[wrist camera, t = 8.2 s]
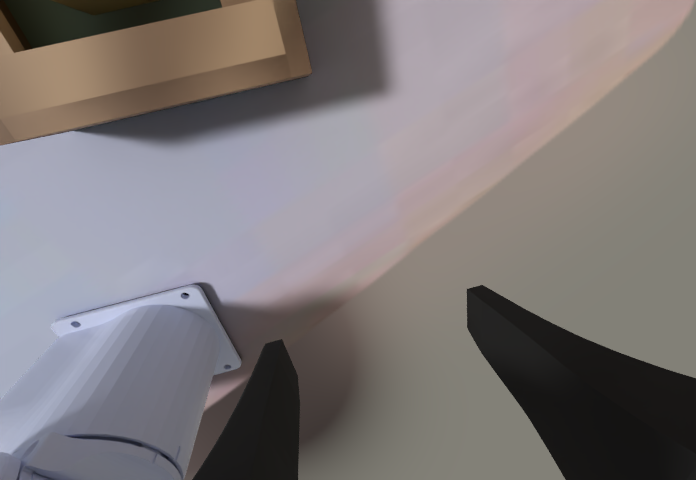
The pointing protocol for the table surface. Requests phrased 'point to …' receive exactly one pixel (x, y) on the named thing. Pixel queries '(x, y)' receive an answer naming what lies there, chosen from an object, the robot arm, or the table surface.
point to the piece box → (137, 59)
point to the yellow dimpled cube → (101, 5)
